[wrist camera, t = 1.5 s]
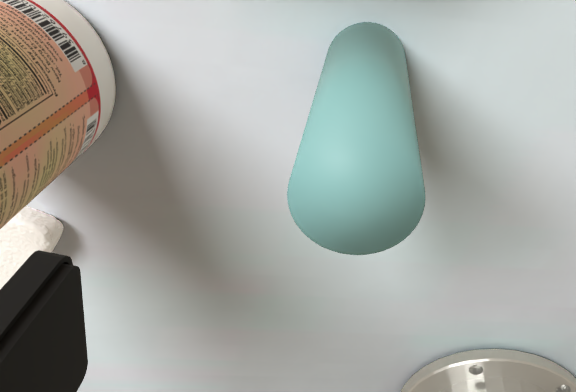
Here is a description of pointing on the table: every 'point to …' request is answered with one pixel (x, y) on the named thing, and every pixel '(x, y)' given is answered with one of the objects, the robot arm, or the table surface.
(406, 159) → the peg
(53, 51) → the fruit juice
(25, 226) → the flat white fragment
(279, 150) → the table surface
